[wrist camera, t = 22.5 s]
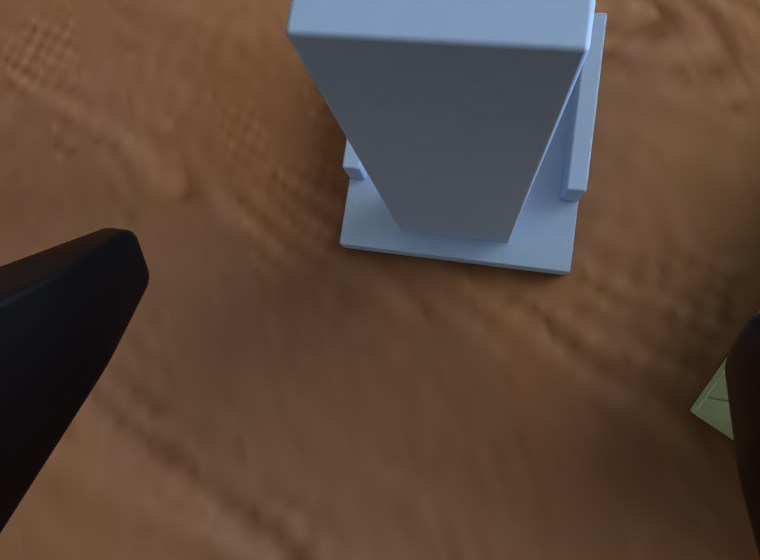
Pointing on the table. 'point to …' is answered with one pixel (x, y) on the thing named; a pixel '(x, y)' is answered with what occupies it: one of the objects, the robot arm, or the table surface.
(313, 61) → the blue post stand
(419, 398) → the table surface
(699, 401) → the green planter box
